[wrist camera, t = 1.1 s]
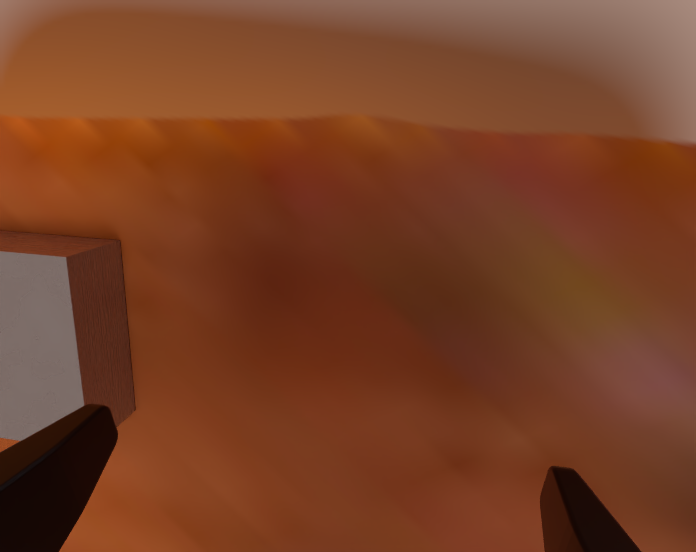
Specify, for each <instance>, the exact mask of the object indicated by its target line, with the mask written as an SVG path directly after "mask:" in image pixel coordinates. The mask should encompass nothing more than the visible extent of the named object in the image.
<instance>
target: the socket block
mask: <svg viewBox="0 0 696 552" xmlns="http://www.w3.org/2000/svg"><path fill="white" fill-rule="evenodd" d="M87 404H100V405H106V406H108V407H109V408H110V410H111V413H112V416H113V419H114V422H115V425H116V427H117V426H118V425H119V424H121V423H122V422H123V421H124V420H125V419H126V418H127V417H128V416H129V415H130V414H132V413H133V412H134V411H135V402H134V391H133V380H132V369H131V357H130V346H129V335H128V324H127V313H126V302H125V291H124V280H123V269H122V258H121V247H120V240H109V239H96V238H84V237H72V236H60V235H48V234H36V233H23V232H11V231H0V438H6V439H13V440H19V441H22V440H23V439H25V438H27V437H29V436H31V435H32V434H34V433H36V432H38V431H40V430H41V429H43V428H45V427H47V426H49V425H50V424H52V423H54V422H56V421H58V420H59V419H61V418H63V417H65V416H66V415H68V414H70V413H72V412H74V411H75V410H77V409H79V408H81V407H83V406H85V405H87Z"/></svg>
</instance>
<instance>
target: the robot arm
mask: <svg viewBox="0 0 696 552" xmlns="http://www.w3.org/2000/svg"><path fill="white" fill-rule="evenodd" d="M117 439H118V431H117V428H116V425H115V422H114V419H113V416H112V413H111V410H110V408H109V407H108V406H106V405H100V404H87V405H85V406H83V407H81V408H79V409H77V410H75V411H74V412H72V413H70V414H68V415H66V416H65V417H63V418H61V419H59V420H58V421H56V422H54V423H52V424H50V425H49V426H47V427H45V428H43V429H41V430H40V431H38V432H36V433H34V434H32V435H31V436H29V437H27V438H25V439H23V440H22V441H20V442H18V443H16V444H15V445H13V446H11V447H9V448H7V449H6V450H4V451H2V452H0V552H59V550H60V549H61V547H62V545H63V544H64V542H65V541H66V539H67V537H68V536H69V534H70V532H71V531H72V529H73V527H74V526H75V524H76V522H77V521H78V519H79V517H80V515H81V514H82V512H83V510H84V508H85V506H86V504H87V502H88V500H89V498H90V496H91V494H92V492H93V490H94V488H95V486H96V484H97V482H98V480H99V478H100V476H101V474H102V472H103V470H104V468H105V466H106V464H107V462H108V459H109V457H110V455H111V453H112V451H113V449H114V447H115V445H116V442H117ZM540 509H541V519H542V529H543V538H544V548H545V552H641V551H640V549H639V548H638V547H637V546H636V544H635V543H634V542H633V541H632V539H631V538H630V537H629V536H628V534H627V533H626V532H625V531H624V530H623V528H622V527H621V526H620V525H619V523H618V522H617V521H616V520H615V518H614V517H613V516H612V515H611V514H610V512H609V511H608V510H607V509H606V507H605V506H604V505H603V504H602V502H601V501H600V500H599V499H598V497H597V496H596V495H595V494H594V493H593V491H592V490H591V489H590V488H589V486H588V485H587V484H586V483H585V481H584V480H583V479H582V478H581V476H580V475H579V474H578V473H577V472H576V471H575V470H574V469H572V468H567V467H559V466H551V467H550V468H549V470H548V472H547V476H546V479H545V482H544V485H543V488H542V492H541V496H540Z"/></svg>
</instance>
